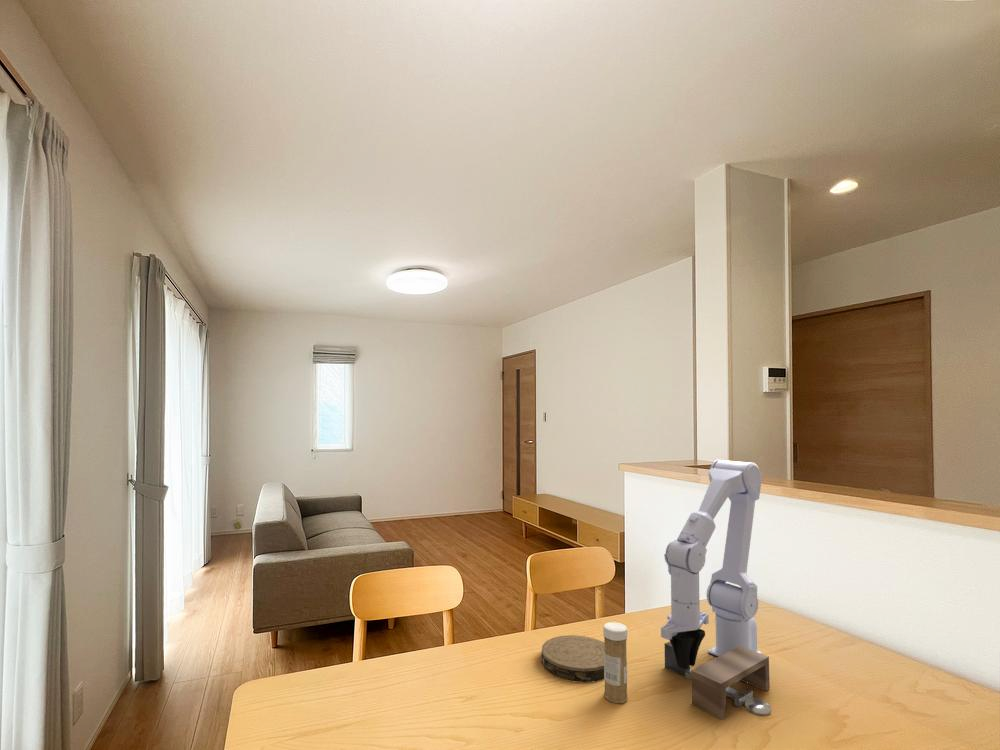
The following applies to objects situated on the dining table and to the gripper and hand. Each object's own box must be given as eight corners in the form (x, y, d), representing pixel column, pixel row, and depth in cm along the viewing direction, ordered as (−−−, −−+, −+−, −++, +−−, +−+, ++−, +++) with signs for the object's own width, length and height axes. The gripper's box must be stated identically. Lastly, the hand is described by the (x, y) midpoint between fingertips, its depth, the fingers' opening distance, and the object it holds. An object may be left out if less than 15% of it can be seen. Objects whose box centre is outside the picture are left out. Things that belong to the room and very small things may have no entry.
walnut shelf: (740, 676, 108) (739, 645, 109) (769, 688, 103) (768, 656, 104) (691, 704, 97) (691, 670, 98) (721, 719, 93) (720, 683, 93)
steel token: (752, 701, 99) (752, 695, 99) (775, 712, 96) (775, 706, 96) (740, 708, 97) (740, 703, 97) (763, 720, 93) (763, 714, 93)
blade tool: (660, 669, 111) (660, 645, 111) (674, 663, 114) (673, 639, 114) (739, 707, 97) (738, 679, 97) (752, 698, 100) (752, 671, 100)
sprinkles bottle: (632, 699, 99) (632, 627, 100) (615, 707, 96) (615, 632, 97) (615, 689, 102) (614, 619, 103) (598, 695, 100) (598, 624, 101)
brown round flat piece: (592, 644, 123) (592, 631, 123) (629, 677, 108) (629, 662, 108) (530, 653, 118) (530, 640, 118) (560, 689, 103) (560, 673, 103)
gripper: (688, 587, 117) (688, 649, 116) (648, 600, 108) (648, 667, 107) (717, 596, 111) (718, 661, 110) (677, 611, 103) (678, 682, 102)
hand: (686, 665), depth 109 cm, fingers closed on blade tool, 2 cm apart
